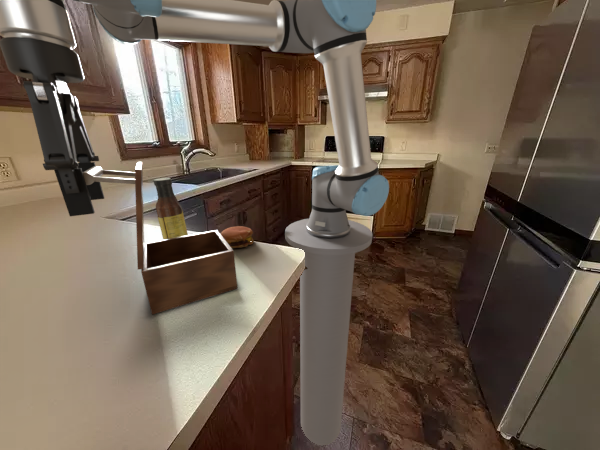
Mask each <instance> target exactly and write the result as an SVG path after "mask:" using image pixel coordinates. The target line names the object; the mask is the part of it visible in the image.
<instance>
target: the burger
mask: <svg viewBox="0 0 600 450" xmlns="http://www.w3.org/2000/svg"><path fill="white" fill-rule="evenodd" d="M220 234H221V235H222V236H223V238H224V239H225V240H226V242H227V243H228V244H229V245H230V247H231V248H232V249H239V248H241V249H242V248H246V247H248V246H249V245H250V246H251V245H253V244H254V239H253V236H252V235H253V234H254V231H253V230H252V229H251V228H250V227H247V226H241V225H237V226H230V227H227V228H225V229H224V230H222V231H221V232H220ZM250 241H252V242H250Z"/></svg>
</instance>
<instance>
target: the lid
mask: <svg viewBox="0 0 600 450" xmlns="http://www.w3.org/2000/svg"><path fill="white" fill-rule="evenodd" d="M143 170H144V169H143V161H137V162H136V165H135V168H134V172H132V171H122V170H111V169H103V168H102V167H101V166H99V165H95V166H94V167H92V168H90V169H88V170H86V171H84V172H83V175H84V178H85V182H86V185H91V184H92V183H94V182H100V183H109V184H110V183H112V184H129V185H134V189H135V190H134V191H135V192H134V193H135V194H134V195H135V223H136V225H135V227H136V229H135V230H136V256H137V259H136V261H137V270H141V269H143V265H144V243H145V223H144V221H145V220H144V178H143V176H144V175H143V173H144V172H143ZM103 175H107V176H103ZM109 175H110V177H109ZM112 176H123V177H112ZM125 177H134V178H125Z"/></svg>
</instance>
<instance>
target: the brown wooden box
mask: <svg viewBox="0 0 600 450" xmlns="http://www.w3.org/2000/svg"><path fill="white" fill-rule="evenodd" d="M236 269H237V268H236V259H235V251H234V248H231V247H230V245H229V244H228V243H227V242H226V240H225V239H224V238H223V236H222V235H221V232H220V231H219V230H218V229H214V230H209V231H203V232H197V233H193V234H188V235H186V236H180V237H175V238H169V239H164V240H163V239H159V240H153V241H148V242H144V265H143V269H140V271H141V277H142V280H143V284H144V288H145V292H146V297H147V299H148V300H147V301H148V304H149V308H150V312H151V315H155V314H160V313H162V312H166V311H169V310H172V309H175V308H178V307H181V306H185V305H188V304H192V303H195V302H199V301H201V300H204V299H205V300H206V299H209V298H212V297H214V296H218V295H221V294H225V293H228V292H231V291H234V290H237V289H239V287H238V279H237V270H236Z"/></svg>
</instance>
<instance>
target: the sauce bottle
mask: <svg viewBox="0 0 600 450" xmlns="http://www.w3.org/2000/svg"><path fill="white" fill-rule="evenodd" d="M153 185H154V187H155V189H156V193H157V195H156V196H157V201H156V203H155V210H156V214H157V220H158V224H159V228H160V232H161V236H162V240H164V239H169V238H175V237H180V236H186V235H189V234H188V228H187V224H186V219H185V215H184V211H183V207H182V205H181V204H180V202H179V199H177V197H176V195H175V192H174V190H173V189H174V188H173V181H172V179H171V178H170V177H161V178H155V179H153Z"/></svg>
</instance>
